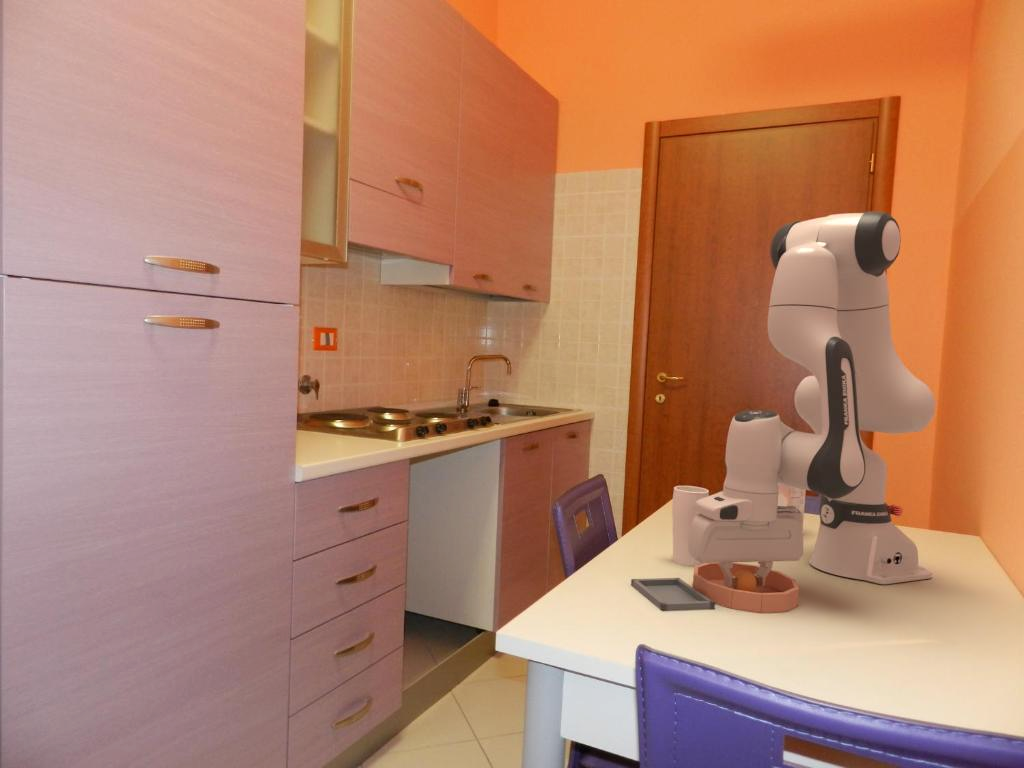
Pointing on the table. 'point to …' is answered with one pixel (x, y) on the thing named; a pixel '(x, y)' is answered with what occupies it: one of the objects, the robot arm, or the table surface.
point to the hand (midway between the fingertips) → (744, 586)
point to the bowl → (767, 599)
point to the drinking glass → (684, 521)
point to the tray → (672, 594)
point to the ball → (745, 581)
